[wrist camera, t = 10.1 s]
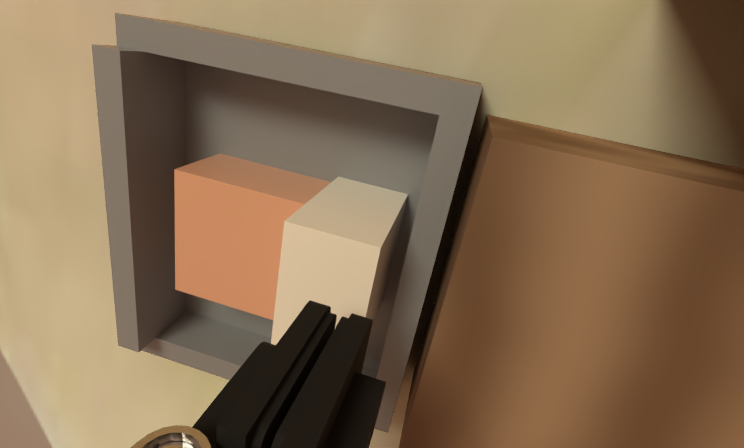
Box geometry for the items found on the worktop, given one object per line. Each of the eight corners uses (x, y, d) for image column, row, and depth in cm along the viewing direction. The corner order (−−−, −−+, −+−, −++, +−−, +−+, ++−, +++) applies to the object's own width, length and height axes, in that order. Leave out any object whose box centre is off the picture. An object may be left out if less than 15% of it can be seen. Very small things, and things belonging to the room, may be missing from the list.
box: (480, 82, 14) (483, 89, 11) (399, 382, 20) (383, 453, 16) (176, 21, 16) (88, 8, 12) (179, 313, 22) (120, 363, 18)
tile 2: (380, 247, 11) (284, 220, 11) (350, 385, 13) (269, 358, 13) (408, 194, 16) (338, 176, 16) (382, 302, 17) (321, 284, 18)
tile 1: (174, 169, 14) (219, 153, 17) (175, 289, 16) (215, 258, 19) (308, 205, 13) (335, 182, 16) (292, 326, 15) (318, 289, 18)
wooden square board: (938, 210, 13) (1199, 291, 8) (734, 468, 17) (826, 610, 13) (486, 114, 15) (493, 136, 10) (414, 369, 19) (395, 462, 15)
